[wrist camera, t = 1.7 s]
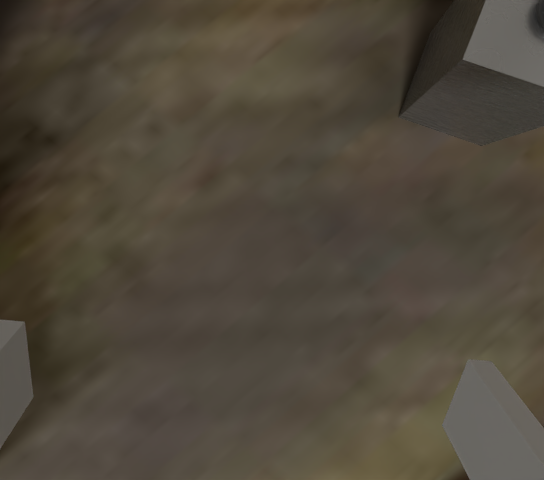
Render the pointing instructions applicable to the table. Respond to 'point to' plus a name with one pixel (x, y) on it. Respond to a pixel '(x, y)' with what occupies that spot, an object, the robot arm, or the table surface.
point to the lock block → (481, 71)
